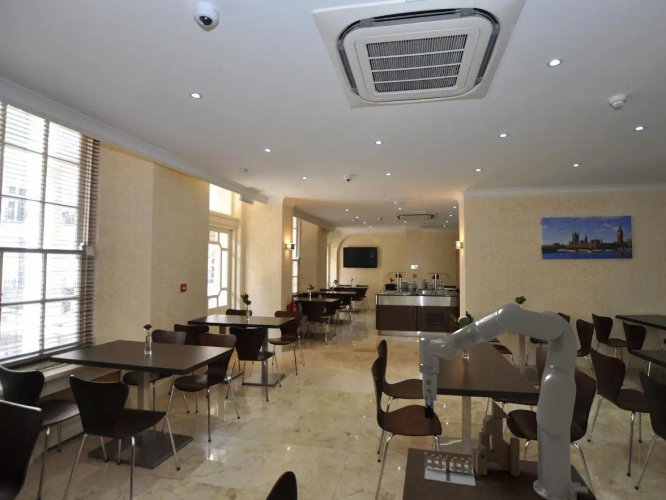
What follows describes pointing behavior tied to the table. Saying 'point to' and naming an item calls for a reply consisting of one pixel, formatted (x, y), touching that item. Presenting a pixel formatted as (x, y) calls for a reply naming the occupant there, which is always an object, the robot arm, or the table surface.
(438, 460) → the beige stepped wooden piece
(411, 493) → the table surface
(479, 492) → the table surface
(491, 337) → the robot arm
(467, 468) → the fence fixed
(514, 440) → the wooden toy
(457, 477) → the card
